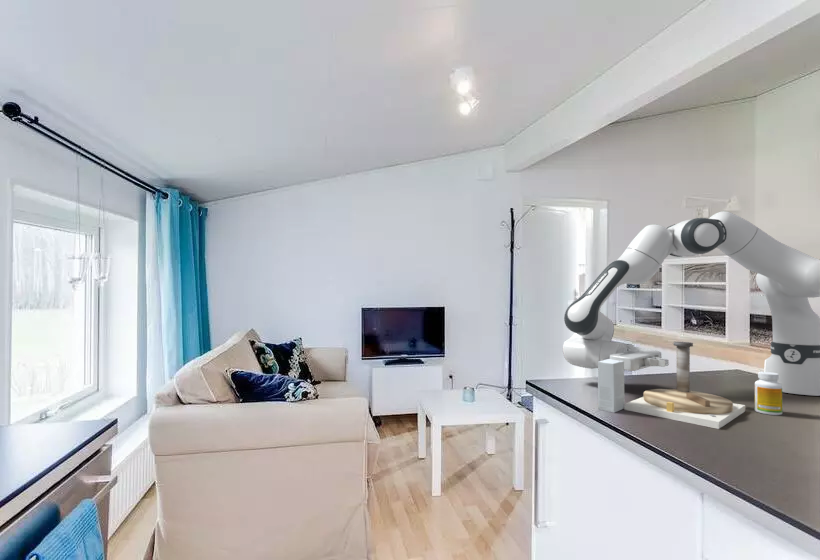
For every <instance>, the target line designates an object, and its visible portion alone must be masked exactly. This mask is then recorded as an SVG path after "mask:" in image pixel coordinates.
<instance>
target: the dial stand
mask: <svg viewBox="0 0 820 560" xmlns="http://www.w3.org/2000/svg"><path fill="white" fill-rule="evenodd" d="M624 411H629V412H634V413H635V412H636V413H638V414H644V415H648V416H649V415H650V416H654V417H659V418H663V419H667V420H673V421H679V422H681V423H688V424H692V425H696V426H697V425H698V426H702V427H706V428H707V427H708V428H712V429H717V430H719V429H721V428H722V427H724V426H725V425H727V424H729V423H730V422H731V421H733V420H734V419H736V418H738V417H739V416H741V415H742V414H744V413H745V412H746V405H745V404H739V403H734V402H733V410H732V411H731V412H729V413H723V414H700V413H690V412H682V411H676V410H674V403H672V402H667V409H666V408H662V407H658V406H655V405H652V404H649V403H647V402H646V401H644V396H642V397H639V398H638V397H637V398H636V399H633V400H631V401H628V402H624Z"/></svg>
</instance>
